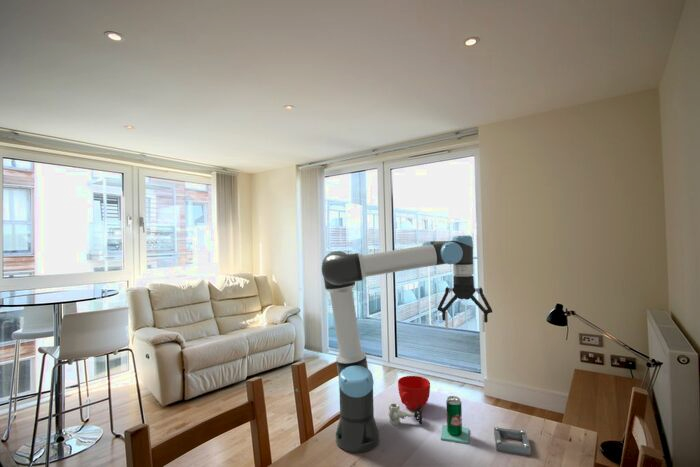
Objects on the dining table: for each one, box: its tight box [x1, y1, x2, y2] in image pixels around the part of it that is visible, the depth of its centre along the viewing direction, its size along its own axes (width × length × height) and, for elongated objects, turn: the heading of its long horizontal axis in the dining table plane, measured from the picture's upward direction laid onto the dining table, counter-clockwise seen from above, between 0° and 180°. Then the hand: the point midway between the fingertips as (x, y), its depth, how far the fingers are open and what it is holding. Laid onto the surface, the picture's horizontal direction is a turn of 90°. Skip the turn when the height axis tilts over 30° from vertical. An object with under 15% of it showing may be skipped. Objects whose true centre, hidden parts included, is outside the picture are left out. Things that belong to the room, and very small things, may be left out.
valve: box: [388, 402, 423, 426], centre depth 134 cm, size 7×7×12 cm
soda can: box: [445, 395, 463, 436], centre depth 125 cm, size 5×5×12 cm
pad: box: [440, 424, 470, 445], centre depth 125 cm, size 9×9×1 cm
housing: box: [493, 426, 532, 457], centre depth 119 cm, size 10×10×3 cm
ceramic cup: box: [397, 375, 431, 411], centre depth 145 cm, size 13×17×10 cm
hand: (464, 329), depth 139 cm, fingers open, 13 cm apart
